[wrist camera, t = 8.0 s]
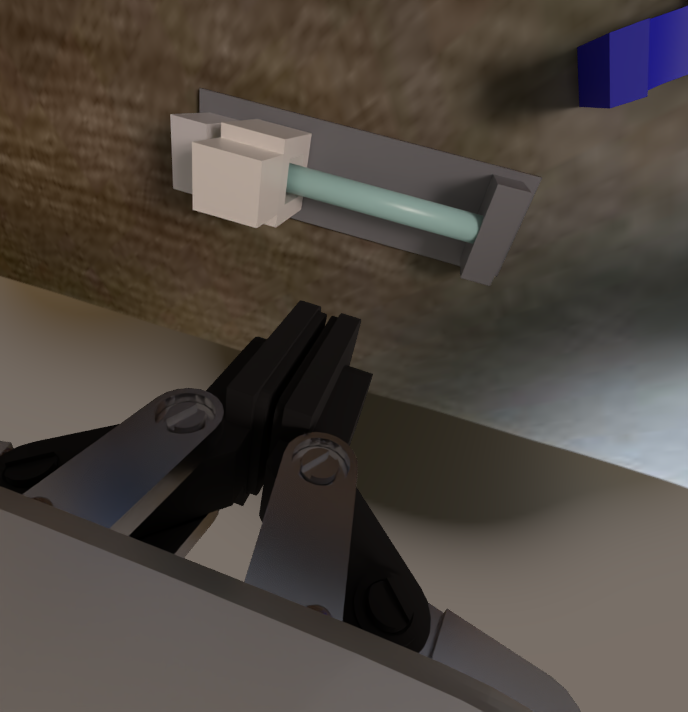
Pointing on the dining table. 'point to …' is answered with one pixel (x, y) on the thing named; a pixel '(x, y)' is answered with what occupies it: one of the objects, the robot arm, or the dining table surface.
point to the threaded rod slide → (382, 186)
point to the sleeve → (248, 172)
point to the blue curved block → (633, 60)
